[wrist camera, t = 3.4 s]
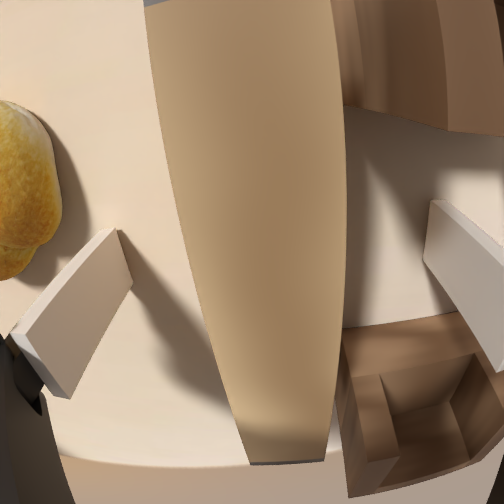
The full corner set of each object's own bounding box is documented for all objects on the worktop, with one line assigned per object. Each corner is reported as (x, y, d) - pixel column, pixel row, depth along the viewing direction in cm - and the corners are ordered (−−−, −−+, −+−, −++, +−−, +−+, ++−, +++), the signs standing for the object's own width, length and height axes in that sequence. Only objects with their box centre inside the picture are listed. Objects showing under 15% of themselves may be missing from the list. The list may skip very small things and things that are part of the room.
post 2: (333, 389, 17) (348, 498, 11) (340, 329, 14) (367, 462, 8) (444, 370, 16) (480, 461, 10) (467, 309, 14) (527, 409, 8)
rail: (255, 374, 16) (250, 465, 11) (201, 34, 9) (142, -10, 4) (314, 370, 16) (324, 461, 11) (295, 24, 8) (323, -35, 4)
